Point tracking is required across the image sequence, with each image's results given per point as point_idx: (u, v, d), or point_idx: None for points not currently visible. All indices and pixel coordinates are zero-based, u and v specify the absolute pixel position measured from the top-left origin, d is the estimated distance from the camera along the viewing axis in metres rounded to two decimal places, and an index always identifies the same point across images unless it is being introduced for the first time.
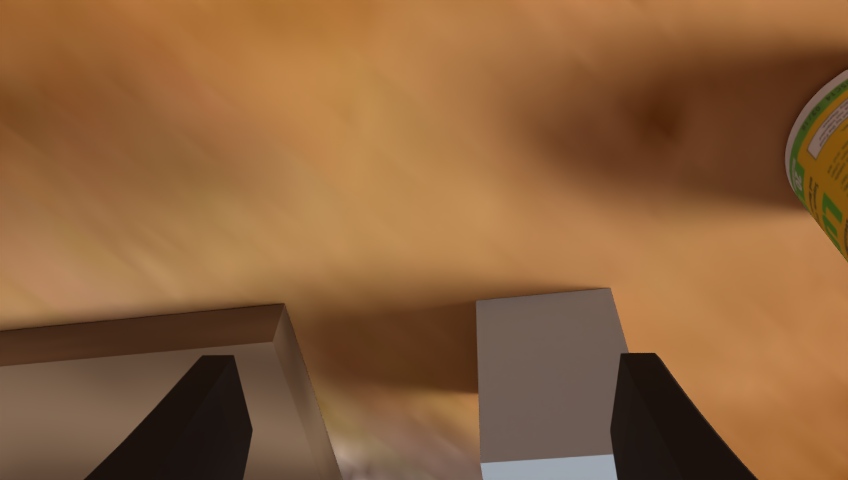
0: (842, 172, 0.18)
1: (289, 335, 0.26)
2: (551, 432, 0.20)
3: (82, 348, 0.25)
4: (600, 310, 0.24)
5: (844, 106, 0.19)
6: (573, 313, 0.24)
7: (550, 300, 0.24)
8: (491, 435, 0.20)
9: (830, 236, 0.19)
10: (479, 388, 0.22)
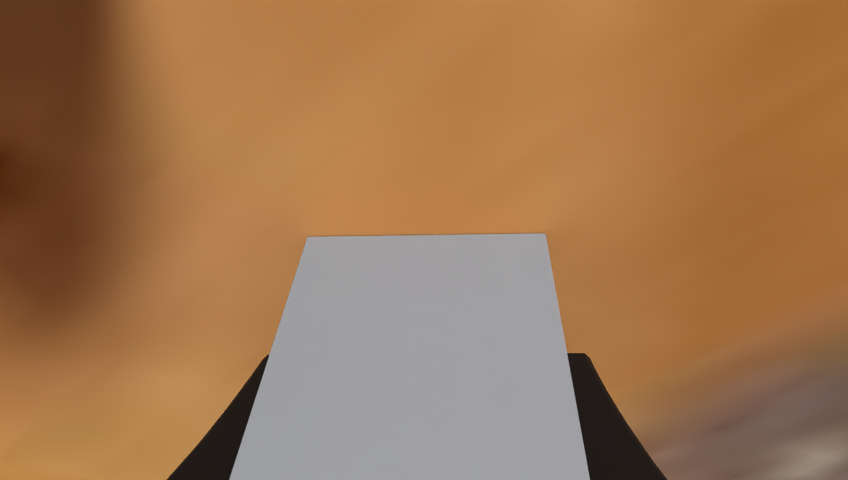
0: None
1: None
2: None
3: None
4: None
5: None
6: None
7: None
8: None
9: None
10: None
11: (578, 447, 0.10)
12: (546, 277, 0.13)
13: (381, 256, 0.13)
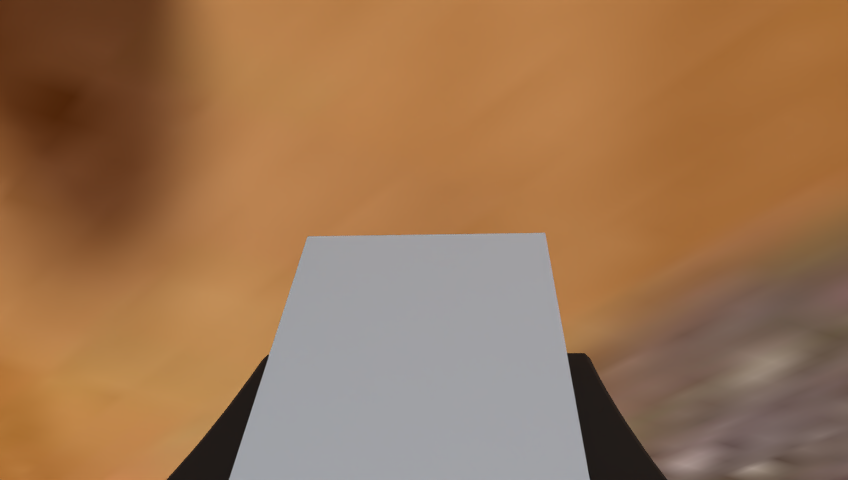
0: None
1: None
2: None
3: None
4: None
5: None
6: None
7: None
8: None
9: None
10: None
11: (577, 446, 0.10)
12: (546, 276, 0.13)
13: (380, 256, 0.13)
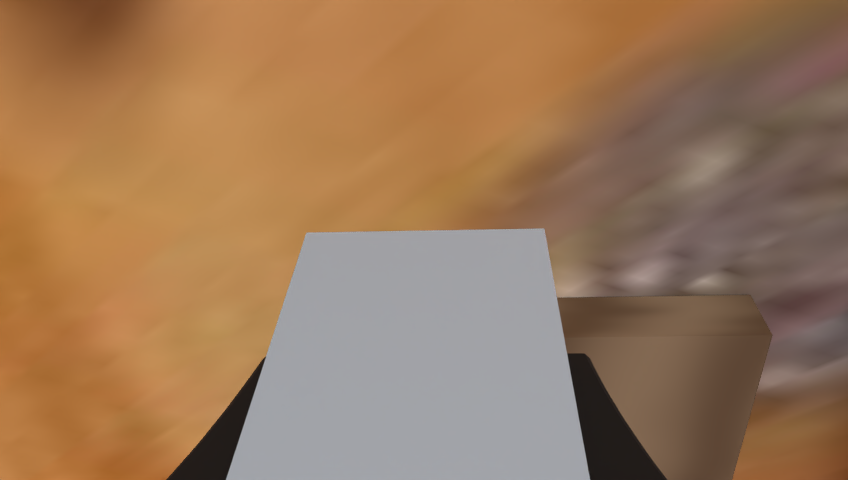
0: None
1: None
2: None
3: None
4: None
5: None
6: None
7: None
8: None
9: None
10: None
11: (577, 440, 0.10)
12: (545, 272, 0.13)
13: (379, 251, 0.13)
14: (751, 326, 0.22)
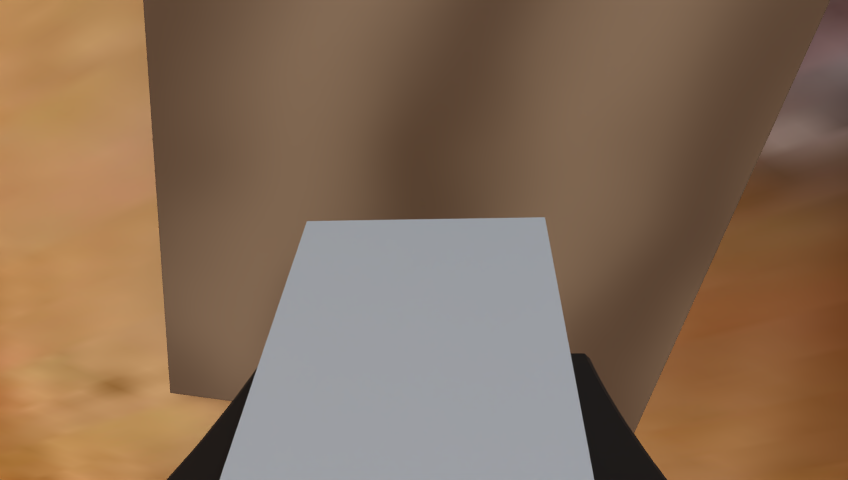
0: None
1: None
2: None
3: None
4: None
5: None
6: None
7: None
8: None
9: None
10: None
11: (577, 423, 0.09)
12: (546, 259, 0.13)
13: (380, 240, 0.13)
14: None
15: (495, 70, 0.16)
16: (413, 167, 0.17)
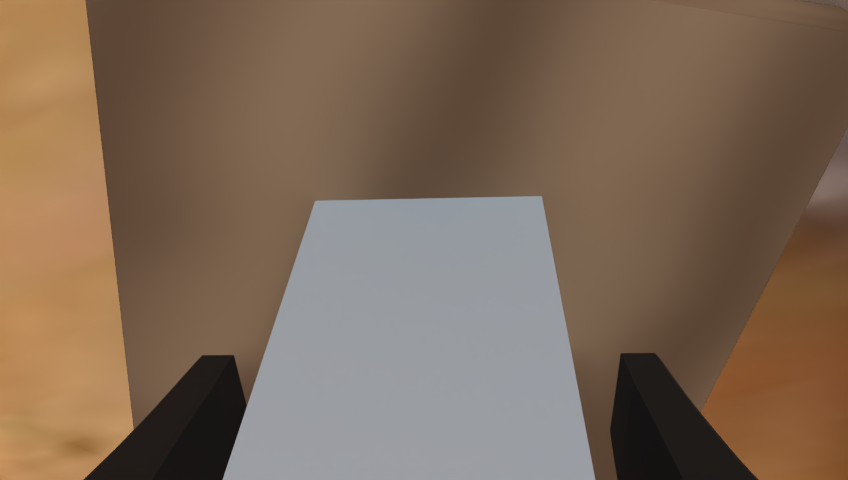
0: None
1: None
2: None
3: None
4: None
5: None
6: None
7: None
8: None
9: None
10: None
11: (571, 379, 0.10)
12: (542, 234, 0.13)
13: (385, 217, 0.14)
14: None
15: (499, 119, 0.14)
16: None
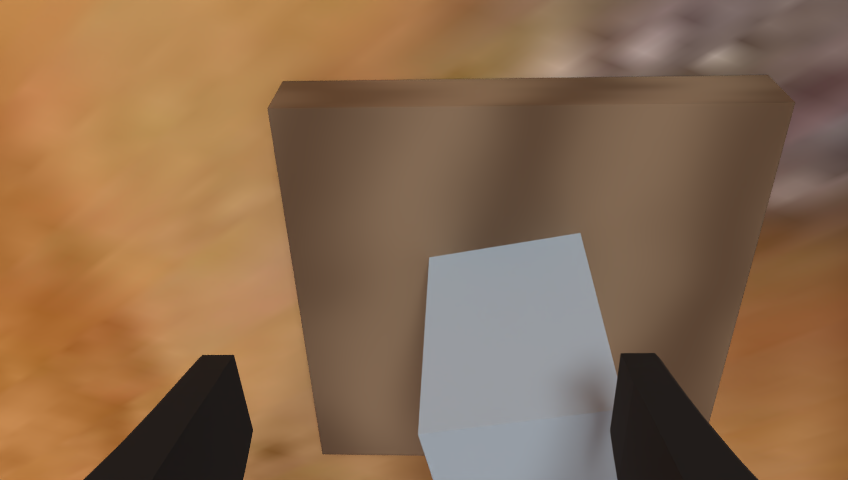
0: None
1: (314, 87, 0.21)
2: None
3: None
4: None
5: None
6: None
7: None
8: None
9: None
10: None
11: (607, 351, 0.17)
12: (582, 260, 0.20)
13: (477, 263, 0.21)
14: (770, 96, 0.19)
15: (544, 189, 0.21)
16: None
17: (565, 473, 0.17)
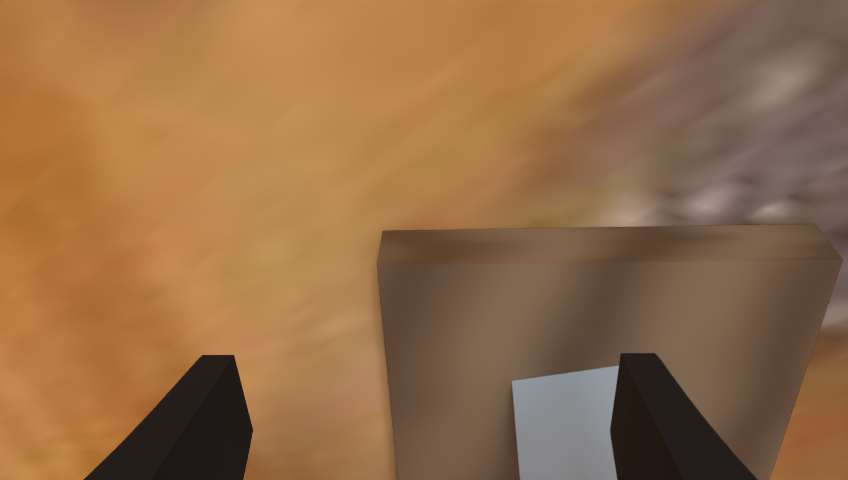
0: None
1: (412, 238, 0.24)
2: None
3: None
4: None
5: None
6: None
7: None
8: None
9: None
10: None
11: None
12: None
13: (557, 389, 0.24)
14: (820, 252, 0.22)
15: (617, 327, 0.23)
16: None
17: None
